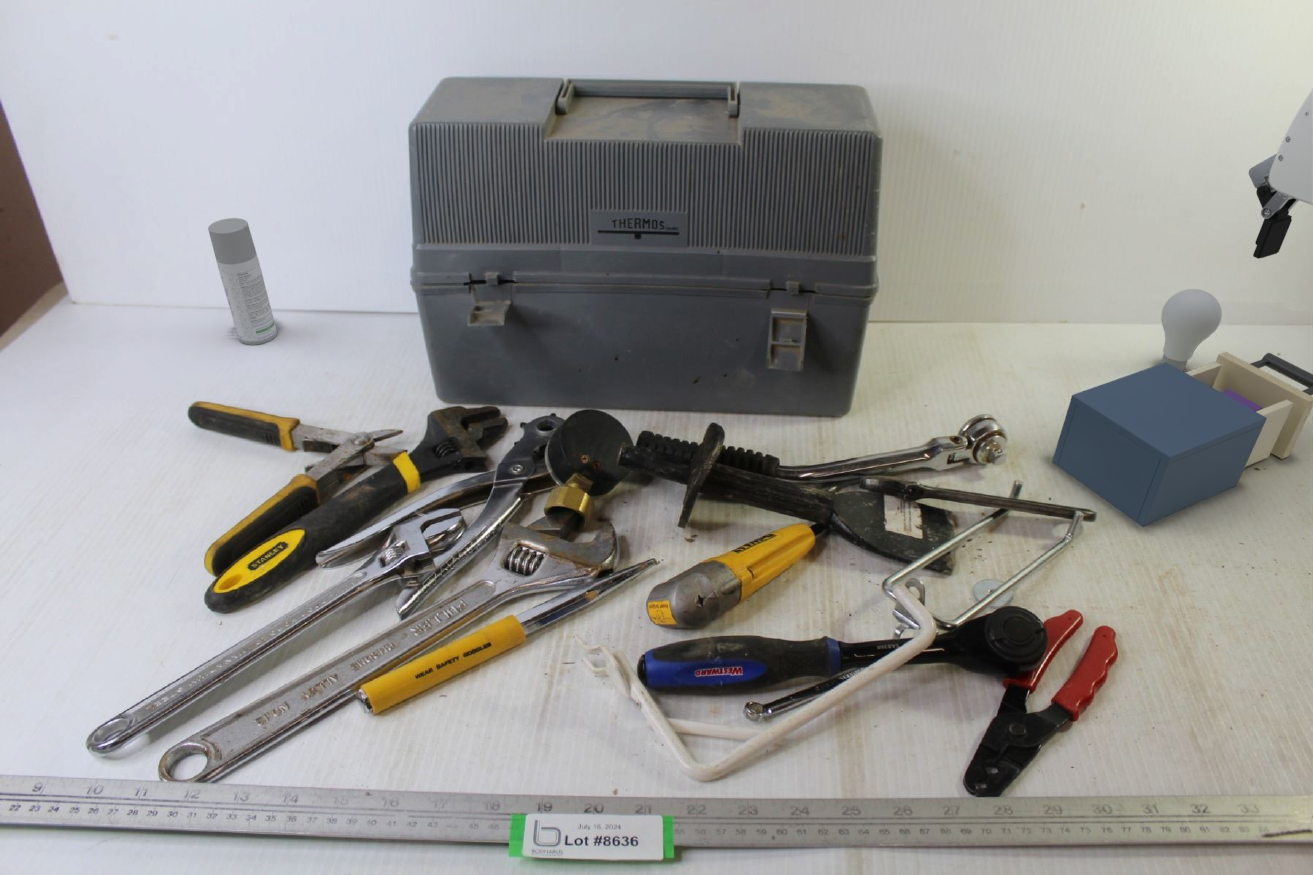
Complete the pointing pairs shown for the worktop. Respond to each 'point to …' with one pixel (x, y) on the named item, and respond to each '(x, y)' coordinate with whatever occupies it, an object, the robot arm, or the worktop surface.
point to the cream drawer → (1265, 398)
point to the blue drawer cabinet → (1156, 442)
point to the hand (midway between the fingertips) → (1295, 266)
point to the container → (242, 280)
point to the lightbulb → (1188, 324)
